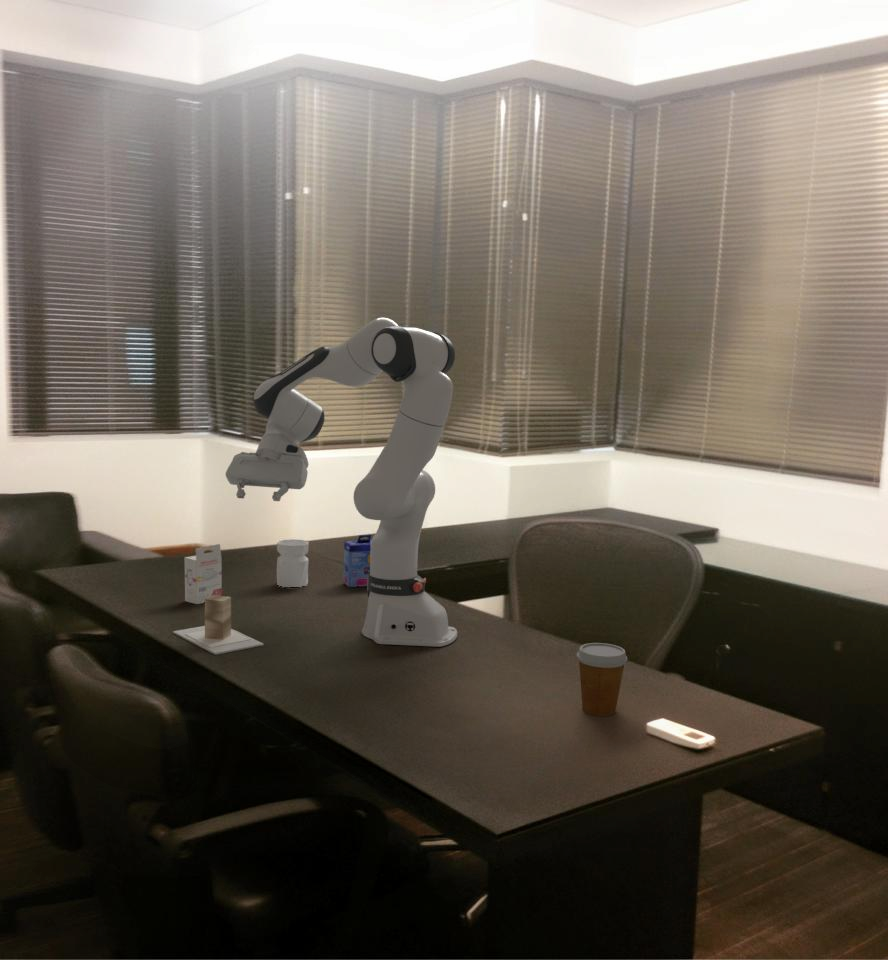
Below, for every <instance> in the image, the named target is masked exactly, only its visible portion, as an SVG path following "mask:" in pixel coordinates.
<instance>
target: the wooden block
mask: <svg viewBox="0 0 888 960" xmlns="http://www.w3.org/2000/svg"><path fill="white" fill-rule="evenodd" d="M204 626H205V638H210V639H219V640H224V639H225V638H227V637H229V636H230V635H231V629H232V597H231V596H226V595H225V596H224V595H222V596H217V595H212V596H210V597H208V598H206V599H205V603H204Z"/></svg>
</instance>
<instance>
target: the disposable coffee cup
mask: <svg viewBox="0 0 888 960" xmlns="http://www.w3.org/2000/svg"><path fill="white" fill-rule="evenodd" d="M576 657H577V659H578V663H579V664H578V665H579V679H580V693H581V705H582V706H581V707H582V708H581V709H582V711H583V712H585V713H587V714H589V715H592V716H597V717H599V716H600V717H605V716H611V715H614V714H616V710H617V706H618V699H619V696H620V695H619V694H620V689H621V685H622V680H623V674H624V669H625V664H626V663H627V661H628V656H627V655H626V650H625V649H624V648H623V647H621V646H618V645H616V644H612V643H603V642H590V643H584V644H581V645H580V646H579V649H578V651H577V652H576Z"/></svg>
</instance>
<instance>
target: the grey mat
mask: <svg viewBox="0 0 888 960" xmlns="http://www.w3.org/2000/svg"><path fill="white" fill-rule="evenodd" d="M172 633H173V634H174V635H176V636H178V637H180V638H181V639H184V640H186V641H188V642H190V643H191V644H194V645H195V646H197V647H199V648H200V649H203V650H206V652H207V651H208V652H209V653H211V654H213V655H214V656H215V655H222V654H226V653H231V652H237V651H242V650H247V649H252V648H257V647H263V646H264V643H263V642H261V641H259V640H257V639H254V638H253V637H250V636H248V635H246V634H244V633H242V632H240V631H237V630H236V629H233V628H231V635H230V636H229V637H227V638H225V639H224V640H219V639H210V638H205V625H202V626H197V627H190V628H185V629H178V630H174V631H172Z"/></svg>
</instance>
